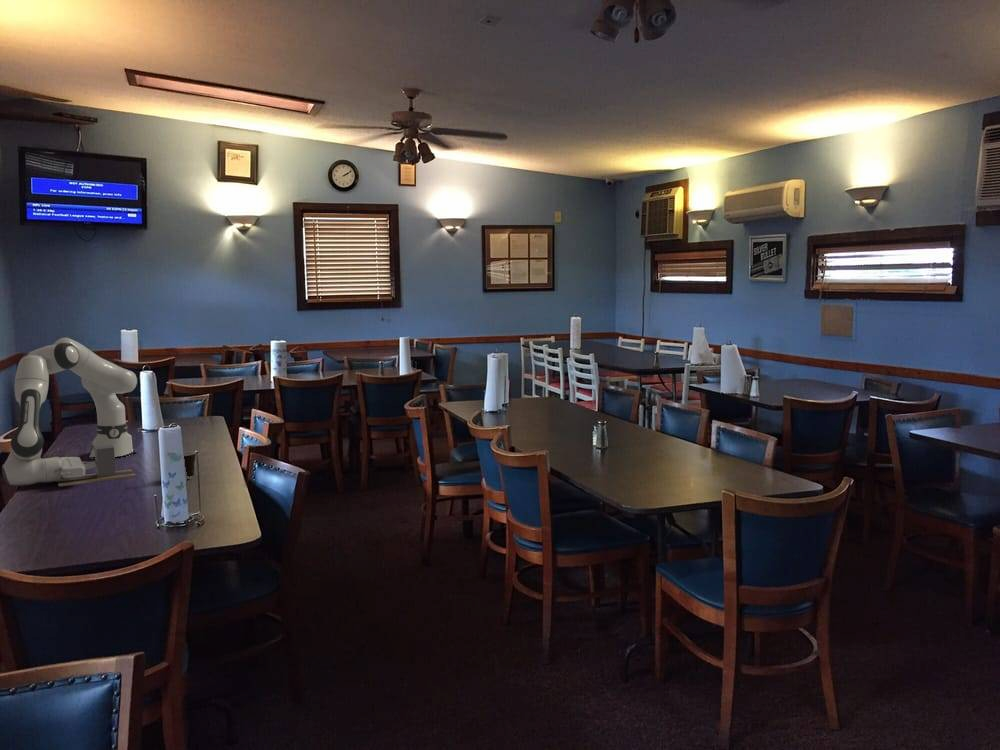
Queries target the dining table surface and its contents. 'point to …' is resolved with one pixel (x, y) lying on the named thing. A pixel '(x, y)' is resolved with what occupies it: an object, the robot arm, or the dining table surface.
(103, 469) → the block
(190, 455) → the coffee mug
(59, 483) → the chute
